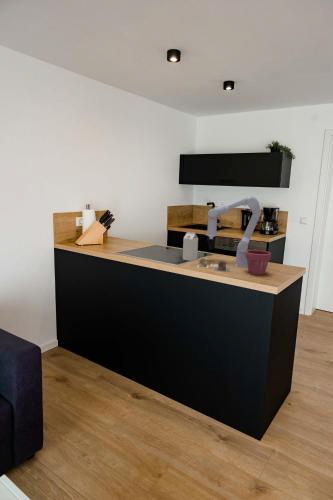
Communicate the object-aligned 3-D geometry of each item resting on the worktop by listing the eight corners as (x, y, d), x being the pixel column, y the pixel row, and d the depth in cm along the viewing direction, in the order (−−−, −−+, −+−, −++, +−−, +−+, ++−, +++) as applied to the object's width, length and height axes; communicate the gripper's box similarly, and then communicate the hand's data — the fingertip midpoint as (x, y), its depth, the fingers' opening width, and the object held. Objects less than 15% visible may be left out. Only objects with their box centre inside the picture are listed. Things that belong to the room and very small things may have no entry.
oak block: (206, 265, 215) (207, 257, 214) (206, 267, 210) (206, 259, 209) (199, 265, 215) (200, 257, 214) (199, 266, 211) (199, 259, 210)
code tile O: (208, 266, 216) (208, 265, 216) (208, 268, 209) (208, 267, 209) (197, 265, 217) (197, 264, 217) (196, 267, 210) (196, 267, 210)
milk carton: (188, 258, 237) (189, 231, 233) (197, 259, 232) (198, 232, 229) (182, 259, 231) (183, 232, 228) (191, 261, 227) (192, 233, 223)
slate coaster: (229, 268, 210) (229, 268, 210) (230, 272, 201) (230, 271, 201) (215, 267, 211) (215, 267, 211) (214, 271, 203) (214, 270, 202)
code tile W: (221, 265, 219) (221, 264, 219) (221, 267, 213) (221, 266, 212) (210, 264, 220) (210, 263, 220) (210, 266, 214) (210, 266, 214)
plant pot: (264, 270, 208) (266, 249, 206) (272, 276, 194) (274, 254, 192) (241, 270, 208) (243, 249, 205) (247, 276, 194) (249, 254, 191)
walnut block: (225, 268, 208) (226, 260, 207) (225, 270, 204) (226, 262, 203) (218, 268, 209) (218, 260, 208) (218, 270, 204) (218, 261, 203)
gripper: (206, 225, 227) (205, 245, 230) (205, 228, 213) (204, 249, 216) (217, 226, 226) (216, 246, 229) (216, 229, 212) (215, 250, 214)
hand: (211, 248), depth 222 cm, fingers open, 7 cm apart
